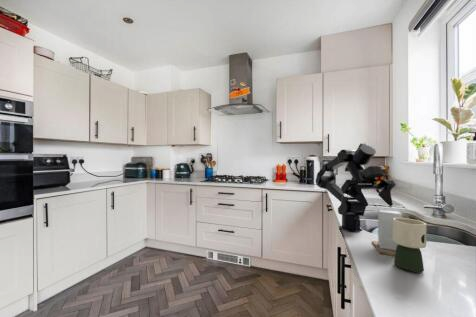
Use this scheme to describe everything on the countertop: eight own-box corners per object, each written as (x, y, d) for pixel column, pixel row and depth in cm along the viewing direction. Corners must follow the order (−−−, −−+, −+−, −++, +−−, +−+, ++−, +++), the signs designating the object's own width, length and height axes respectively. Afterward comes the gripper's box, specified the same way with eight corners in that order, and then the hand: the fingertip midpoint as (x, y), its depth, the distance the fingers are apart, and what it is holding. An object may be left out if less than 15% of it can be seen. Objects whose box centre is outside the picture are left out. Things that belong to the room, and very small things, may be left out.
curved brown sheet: (372, 242, 75) (372, 240, 75) (398, 245, 72) (398, 244, 72) (380, 253, 66) (380, 252, 66) (411, 258, 63) (411, 256, 63)
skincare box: (399, 247, 70) (399, 211, 70) (402, 252, 66) (402, 214, 66) (377, 243, 72) (377, 209, 73) (379, 248, 69) (379, 211, 69)
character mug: (430, 282, 50) (430, 228, 50) (393, 273, 54) (393, 223, 55) (422, 264, 59) (422, 218, 60) (391, 257, 63) (391, 214, 64)
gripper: (345, 158, 78) (366, 191, 67) (391, 158, 80) (419, 192, 69) (334, 177, 86) (350, 210, 75) (376, 177, 88) (398, 210, 77)
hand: (379, 205), depth 74 cm, fingers open, 9 cm apart
